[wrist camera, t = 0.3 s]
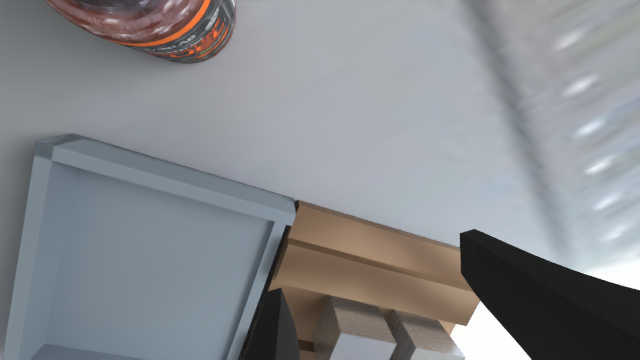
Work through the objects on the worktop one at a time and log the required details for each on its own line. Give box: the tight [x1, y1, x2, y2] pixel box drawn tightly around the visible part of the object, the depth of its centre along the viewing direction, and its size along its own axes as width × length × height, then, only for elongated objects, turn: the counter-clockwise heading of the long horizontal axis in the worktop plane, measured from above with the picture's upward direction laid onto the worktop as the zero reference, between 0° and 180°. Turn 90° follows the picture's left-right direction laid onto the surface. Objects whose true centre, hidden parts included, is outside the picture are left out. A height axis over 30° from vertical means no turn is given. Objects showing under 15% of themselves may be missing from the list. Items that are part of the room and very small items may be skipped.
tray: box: [2, 134, 296, 360], centre depth 20 cm, size 16×14×3 cm
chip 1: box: [312, 295, 397, 360], centre depth 22 cm, size 4×4×4 cm
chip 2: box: [387, 309, 465, 360], centre depth 23 cm, size 4×4×4 cm
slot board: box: [241, 200, 480, 360], centre depth 24 cm, size 16×16×2 cm
